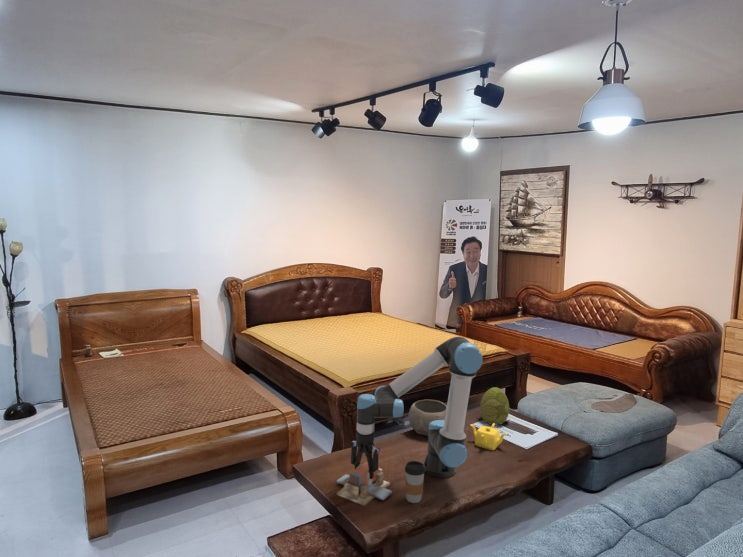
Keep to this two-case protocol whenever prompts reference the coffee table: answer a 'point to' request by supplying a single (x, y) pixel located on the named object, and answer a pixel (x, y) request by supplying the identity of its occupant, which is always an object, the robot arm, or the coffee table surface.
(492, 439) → the teapot
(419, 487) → the coffee cup
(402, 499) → the coffee table surface
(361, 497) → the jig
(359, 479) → the reddish-brown block
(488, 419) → the decorative sculpture
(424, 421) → the bowl
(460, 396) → the robot arm
